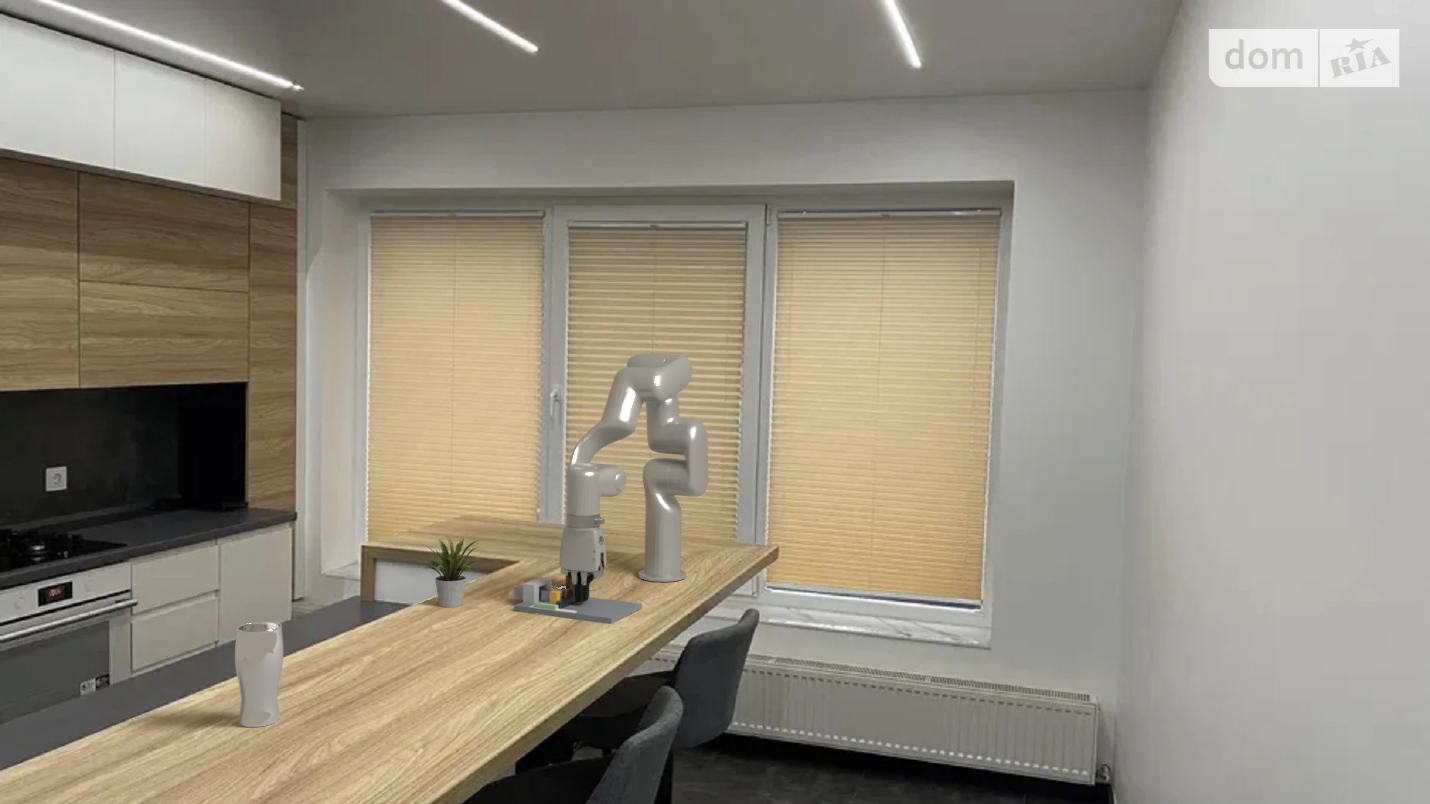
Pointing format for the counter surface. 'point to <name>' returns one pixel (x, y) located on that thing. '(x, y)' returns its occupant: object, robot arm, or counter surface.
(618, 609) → the board
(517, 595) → the plunger
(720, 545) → the counter surface
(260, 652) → the beer glass
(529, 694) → the counter surface
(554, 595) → the orange block
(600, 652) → the counter surface
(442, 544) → the house plant
